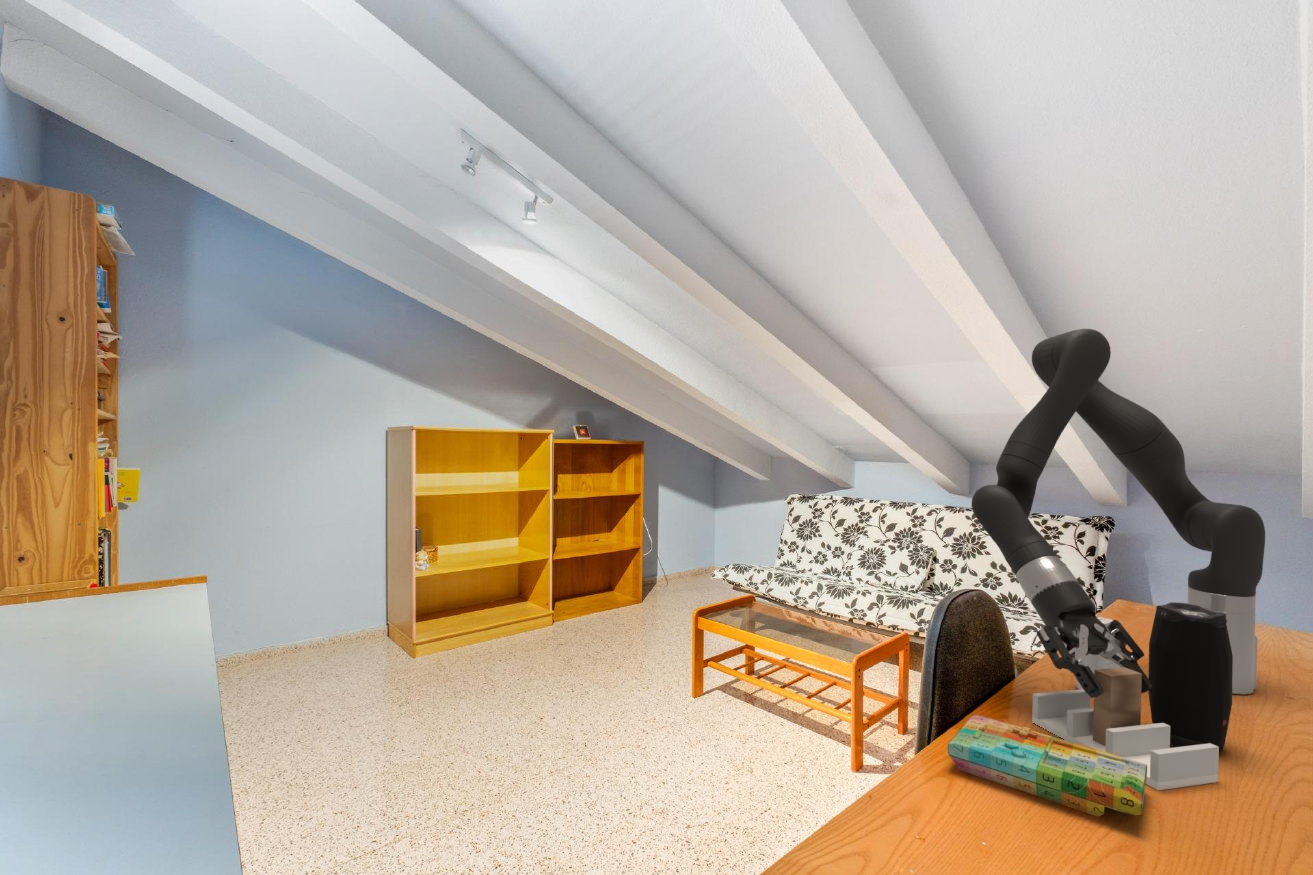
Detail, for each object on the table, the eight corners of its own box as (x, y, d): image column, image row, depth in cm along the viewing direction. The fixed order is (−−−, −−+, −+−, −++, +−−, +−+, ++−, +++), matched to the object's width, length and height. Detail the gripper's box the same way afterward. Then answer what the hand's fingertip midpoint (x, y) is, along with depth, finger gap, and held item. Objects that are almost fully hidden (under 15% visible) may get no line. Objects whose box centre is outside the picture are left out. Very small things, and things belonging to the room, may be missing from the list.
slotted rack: (1084, 717, 99) (1084, 689, 99) (1218, 782, 80) (1218, 747, 80) (1032, 722, 96) (1032, 693, 96) (1157, 790, 78) (1158, 754, 78)
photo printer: (1097, 678, 116) (1099, 612, 116) (1125, 686, 113) (1126, 617, 113) (1072, 689, 110) (1073, 619, 110) (1099, 698, 107) (1101, 626, 107)
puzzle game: (971, 708, 90) (1147, 757, 78) (971, 741, 90) (1146, 795, 77) (948, 736, 82) (1142, 796, 69) (947, 772, 82) (1141, 839, 69)
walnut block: (1122, 736, 90) (1124, 667, 90) (1140, 744, 88) (1141, 673, 88) (1092, 740, 89) (1094, 669, 89) (1109, 748, 87) (1111, 676, 87)
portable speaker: (1246, 758, 87) (1250, 617, 87) (1178, 756, 87) (1182, 615, 87) (1194, 729, 95) (1198, 601, 96) (1132, 727, 96) (1136, 599, 96)
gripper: (1031, 580, 95) (1100, 685, 84) (1105, 577, 98) (1181, 677, 87) (1003, 606, 100) (1064, 708, 89) (1074, 602, 103) (1142, 700, 92)
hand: (1122, 693), depth 88 cm, fingers open, 8 cm apart
